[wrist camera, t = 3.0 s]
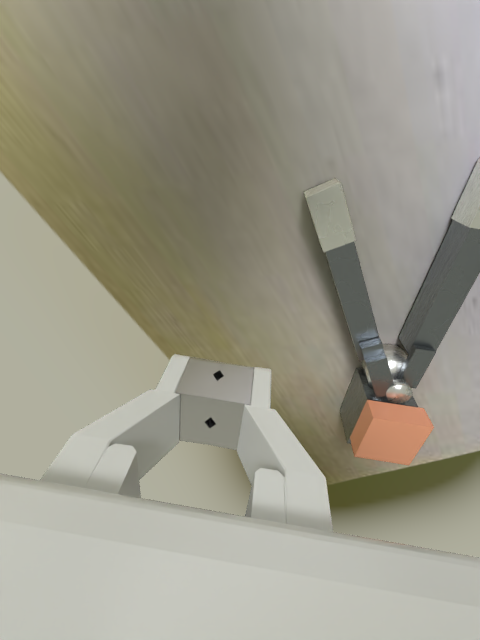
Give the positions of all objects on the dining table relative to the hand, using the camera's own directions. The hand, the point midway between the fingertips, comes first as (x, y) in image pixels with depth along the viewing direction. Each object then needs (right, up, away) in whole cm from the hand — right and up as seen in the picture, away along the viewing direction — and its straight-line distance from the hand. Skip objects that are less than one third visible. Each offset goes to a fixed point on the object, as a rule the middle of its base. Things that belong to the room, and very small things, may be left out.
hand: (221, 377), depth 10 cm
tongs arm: (+10, +4, +16) cm, 20 cm away
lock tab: (+14, -7, +18) cm, 24 cm away
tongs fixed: (+15, +2, +17) cm, 23 cm away
